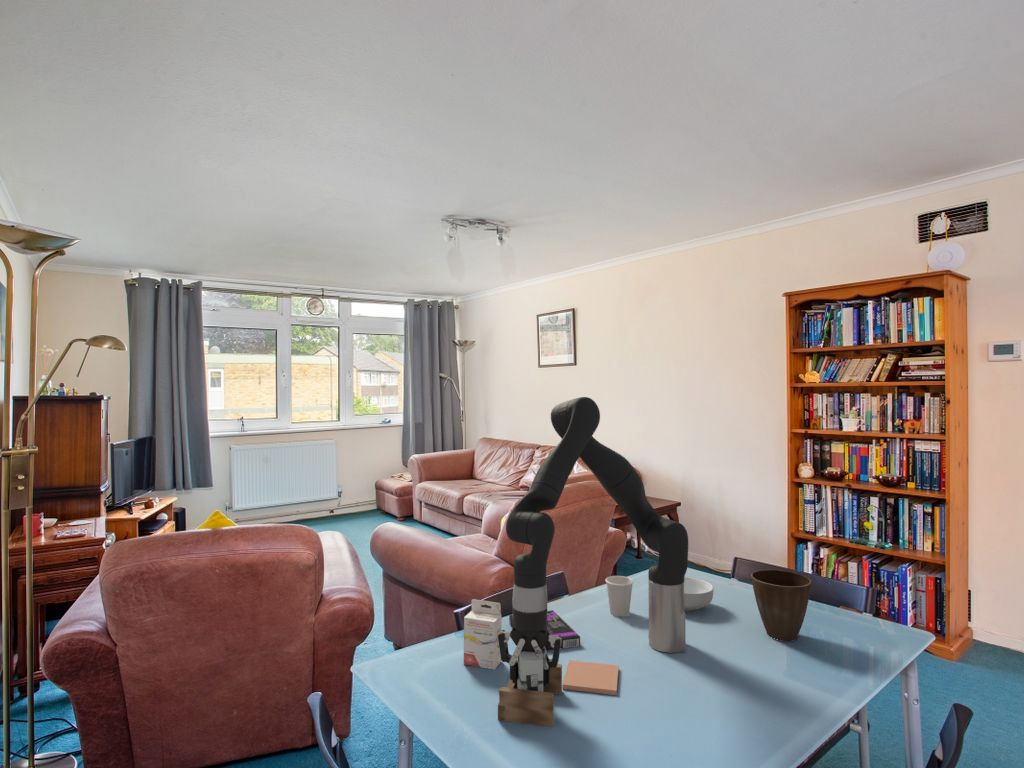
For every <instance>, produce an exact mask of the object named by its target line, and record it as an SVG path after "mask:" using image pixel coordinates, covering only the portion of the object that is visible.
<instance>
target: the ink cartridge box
mask: <svg viewBox="0 0 1024 768" xmlns="http://www.w3.org/2000/svg"><path fill="white" fill-rule="evenodd" d="M470 603H471V610H470V611H469V612H468V613H467V614H466V615H465V616H464V617H463V664H464V665H466V666H467V665H468V666H473V667H477V668H483V669H487V668H488V670H493V671H494V670H495V671H496V669H497V668H498V667H499V665H500V663H501V662H502V661H501V655H500V648H499V641H498V635H499V633H500V632H501V630H503V629H502V626H503V625H502V623H503V621H502V619H503V618H502V609H501V606H502V605H501V602H494V601H490V600H482V599H475V598H473V599H471V602H470ZM485 605H487V606H488V607H483V606H485ZM489 607H490V608H489Z"/></svg>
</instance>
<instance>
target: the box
mask: <svg viewBox="0 0 1024 768" xmlns="http://www.w3.org/2000/svg"><path fill="white" fill-rule="evenodd" d="M508 616H509V619H508V620H509V626H510V628H512V623H513V614H509V615H508ZM547 629H548V632H549V634H550V635H552V636H556V637H557V636H558V635H560V636H561V637H562V642H561V648H562V649H567V647H569V648H574V646H576V647H581V636H580V635H579V634H578V633H577V632H576V631H575V630H574V629H573V628H572V627H571V626H570V625H569V624H568V623H567V622H565V620H563V618H562V617H560V616H559V615H558V614H557V613H556V611H554V610H547ZM545 648H546V651H548V650H549V651H554V648H553V647H552V646H551V642H550V641H548V642H547V643H546V645H545Z"/></svg>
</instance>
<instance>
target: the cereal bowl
mask: <svg viewBox="0 0 1024 768" xmlns="http://www.w3.org/2000/svg"><path fill="white" fill-rule="evenodd" d="M713 586H714V585H712V584H711V583H710V582H708V581H706V580H703V579H700V578H696V577H690V576H685V577H684V602H685V612H693V611H698V609H702V608H704V607H707V606H709V605H710V604H711V602H712V600H713V597H714V587H713Z"/></svg>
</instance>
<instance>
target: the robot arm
mask: <svg viewBox="0 0 1024 768" xmlns="http://www.w3.org/2000/svg"><path fill="white" fill-rule="evenodd" d="M600 420H601V413H600V409H599V406H598V404H597V402H595V400H593V399H592V398H590V397H587V396H580V397H576V398H573V399H570V400H567V401H563V402H561V403H558V404H556V405H555V406H554V407H553V408H552V409H551V412H550V421H551V425H552V427H553V430H554V431H555V432H556V434H557V435H558V436H559V437H560V439H561V440H560V442H559V443H557V445H556V446H555V448H554V449H553V450H552V451H551V452H550V454H549V455H547V457H546V458H545V459H544V460H543V462H542V463H541V465H540V466H539V468H538V469H537V471H536V473H535V476H534V478H533V481H532V483H531V485H530V488H529V490H528V491H527V492H526V493H525V494H524V495H523V496H522V498H521V499H520V500H519V501H518V502H517V504H516V505H515V506H514V507H513V508H512V510H511V511H510V513H509V515H508V517H507V520H506V524H505V531H506V532H505V533H506V536H507V537H508V538H509V540H510V541H512V542H514V543H517V544H525V545H530V546H531V551H530V552H528V553H527V552H526V553H521V554H518V555H517V556H516V557H515V559H514V561H513V588H512V600H511V604H512V615H513V623H512V627H511V630H509V631H506V630H505V629H502V630H501V632H500V633H499V635H498V641H499V648H500V655H501V662H503V663H507V664H508V665H509V680H510V679H511V680H513V683H516V682H517V680H518V662H517V660H518V656H519V653H520V652H521V651H524V652H536V654H542V656H543V687H546V684H548V683H549V680H550V668H552V667H553V668H556V667H557V664H559V660H560V654H561V649H560V648H561V642H562V637H561V636H560V635H558V636H557V637H556V636H552V635H550V634H549V632H548V629H547V611H548V588H547V564H548V559H549V557H550V556H549V555H550V551H551V548H552V543H553V540H554V537H555V532H556V531H555V530H556V529H555V528H556V527H555V522H554V520H553V519H552V516H551V515H549V514H548V513H545V512H544V511H550V510H553V509H555V508H556V507H557V505H558V503H559V501H560V498H561V496H562V494H563V491H564V489H565V486H566V483H567V482H568V479H569V476H570V475H571V472H572V470H573V469H574V467H575V465H576V463H577V462H578V460H579V458H580V460H582V462H584V464H585V466H587V468H588V469H589V471H590V472H591V473H592V474H593V475H594V476H595V478H596V479H597V480H598V482H599V483H600V485H601V486H602V487H603V489H604V490H605V491H606V492H607V493H608V495H609V496H610V497H611V499H613V501H614V502H615V503H616V504H617V506H618V507H619V508H620V510H621V511H622V512H623V513H624V514H625V515H626V517H627V518H628V519H629V521H630V522H631V524H632V525H633V527H634V529H635V530H636V532H637V533H638V535H639V536H640V538H641V540H642V542H643V543H644V545H645V546H646V547H647V548H648V549H650V550H651V551H653V552H656V553H658V563H657V564H655V565H651V566H650V567H649V568H648V573H647V575H648V645H649V646H650V648H652V649H654V650H656V651H659V652H661V653H662V652H663V653H671V654H673V653H679V652H684V653H685V652H686V651H687V649H686V647H687V646H686V645H687V643H686V638H687V637H686V636H687V635H686V634H687V633H686V630H687V629H686V611H685V602H684V577H686V573H687V570H688V563H689V535H688V531H687V529H686V527H685V526H684V525H683V524H682V523H680V522H678V521H677V520H676V521H675V520H672V519H668V518H666V517H663V516H662V515H661V514H659V513H658V512H657V510H656V509H655V508H654V507H653V506H652V504H651V502H650V501H649V500H648V498H647V495H646V490H645V485H644V482H643V479H642V478H641V476H640V474H639V473H638V472H637V471H636V468H634V467H633V464H631V462H629V460H627V458H626V457H624V456H623V455H622V454H620V453H618V452H617V451H615V450H614V449H611V448H610V447H608V446H606V445H604V444H603V443H601V442H600V441H598V440H597V439H596V438H595V437H594V436H593V435H594V434H595V432H596V431H597V429H598V426H599V424H600ZM510 638H511V640H512V642H513V643H514V644H515V646H516V647H515V649H514V652H513V653H512V654H510V652H509V647H508V642H509V640H510ZM548 641H550V642H551V646H552V647H553V648H554V650H552V658H550V657H549V655H548V652H547V651H546V648H545V645H546V643H547V642H548Z"/></svg>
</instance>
